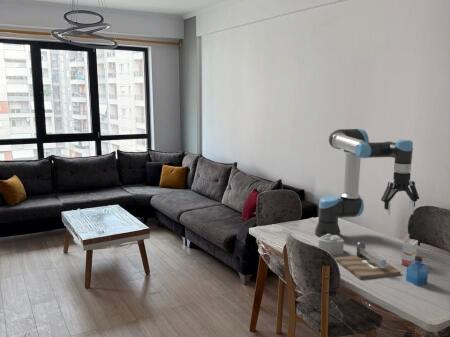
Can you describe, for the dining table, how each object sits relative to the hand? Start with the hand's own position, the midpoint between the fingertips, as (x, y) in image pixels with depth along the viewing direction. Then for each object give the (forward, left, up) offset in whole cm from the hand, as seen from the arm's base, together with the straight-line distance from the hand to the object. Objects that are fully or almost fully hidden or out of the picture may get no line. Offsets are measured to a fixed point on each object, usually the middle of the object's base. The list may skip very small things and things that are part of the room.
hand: (399, 214), depth 201 cm
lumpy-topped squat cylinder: (-26, -22, -27) cm, 43 cm away
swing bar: (-4, -12, -25) cm, 28 cm away
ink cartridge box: (-1, +9, -27) cm, 28 cm away
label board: (-2, -15, -27) cm, 31 cm away
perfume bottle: (+18, -2, -27) cm, 32 cm away
